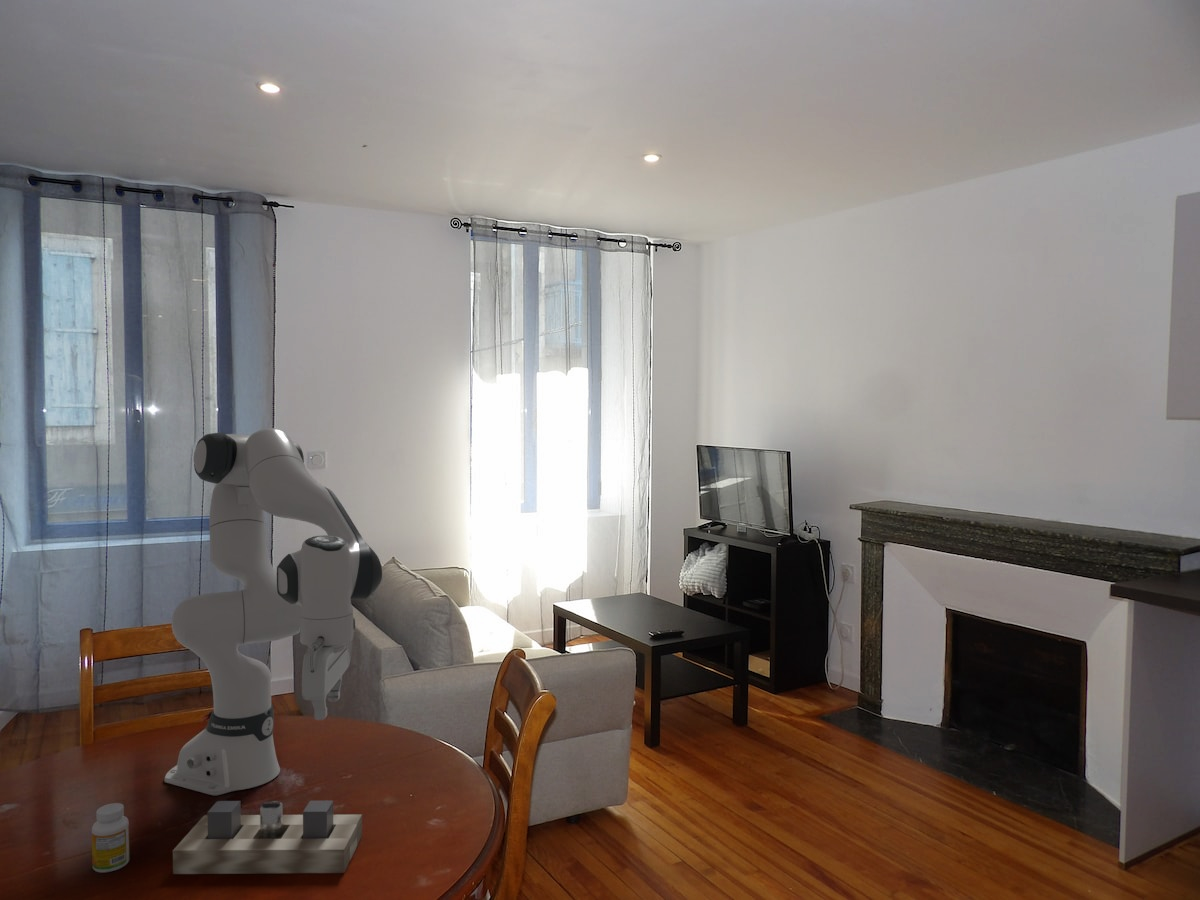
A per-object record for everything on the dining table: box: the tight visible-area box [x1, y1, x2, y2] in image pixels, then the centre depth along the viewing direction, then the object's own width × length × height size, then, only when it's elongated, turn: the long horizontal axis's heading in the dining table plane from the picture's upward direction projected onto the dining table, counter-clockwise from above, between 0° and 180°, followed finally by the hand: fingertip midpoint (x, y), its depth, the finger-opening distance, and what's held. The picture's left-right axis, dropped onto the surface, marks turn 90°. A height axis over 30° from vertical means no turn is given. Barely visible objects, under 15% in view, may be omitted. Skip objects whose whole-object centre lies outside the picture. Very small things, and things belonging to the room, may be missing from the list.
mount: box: [172, 813, 363, 875], centre depth 146 cm, size 28×12×4 cm, turn 92°
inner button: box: [206, 800, 242, 839], centre depth 145 cm, size 4×4×5 cm
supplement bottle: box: [91, 802, 130, 874], centre depth 142 cm, size 5×5×10 cm
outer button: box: [302, 800, 334, 839], centre depth 146 cm, size 4×4×5 cm
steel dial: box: [259, 800, 284, 839], centre depth 145 cm, size 4×4×6 cm
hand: (327, 709), depth 147 cm, fingers open, 8 cm apart
